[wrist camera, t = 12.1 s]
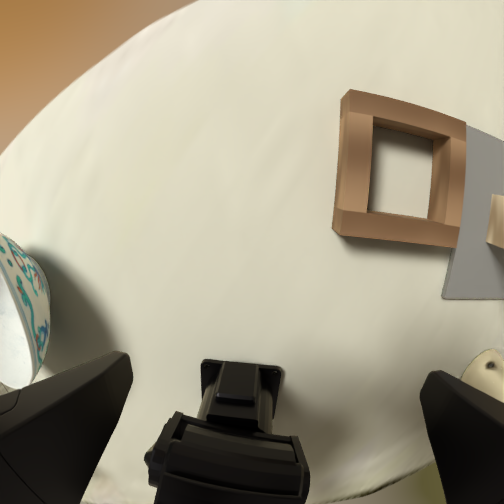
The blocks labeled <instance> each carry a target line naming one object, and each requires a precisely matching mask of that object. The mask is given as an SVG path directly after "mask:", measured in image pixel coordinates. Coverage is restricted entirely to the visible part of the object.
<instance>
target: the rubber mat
mask: <svg viewBox="0 0 504 504" xmlns="http://www.w3.org/2000/svg"><path fill="white" fill-rule="evenodd" d="M492 194H495V195H501V196H504V141H502V140H500V139H498V138H496V137H494V136H491V135H489V134H487V133H485V132H482V131H480V130H478V129H475V128H473V127H470V126H468V125H466V173H465V188H464V199H463V208H462V216H461V224H460V230H459V236H458V242H457V248H452V250H451V255H450V260H449V265H448V270H447V274H446V278H445V283H444V287H443V290H442V294H441V296H442V297H443V298H445V299H504V249H503V248H501V247H498V246H496V245H493V244H490V243H488V242H486V237H487V230H488V224H489V217H490V209H491V199H492Z"/></svg>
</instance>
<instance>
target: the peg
mask: <svg viewBox="0 0 504 504" xmlns="http://www.w3.org/2000/svg"><path fill="white" fill-rule="evenodd" d="M486 242H488V243H490V244H493V245H496V246H498V247H501V248H503V249H504V196H501V195H495V194H492V199H491V209H490V217H489V224H488V230H487V237H486Z"/></svg>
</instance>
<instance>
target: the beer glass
mask: <svg viewBox="0 0 504 504" xmlns="http://www.w3.org/2000/svg"><path fill="white" fill-rule="evenodd" d="M461 381H463V382H465V383H467V384H469V385H471V386H472V387H474V388H476V389H478V390H480V391H482V392H484V393H486V394H488V395H490V396H492V397H494V398H495V399H497V400H499V401H501V402H503V403H504V360H503V358H502V356H501V355H500V353H499V352H498V351H497V350H495V349H489V350H486V351H484V352H483V353H481V354H480V355H478V356H477V357H476V358H475V359H474V360H473V361H472V362H471V363H470V364H469V366H468V367H467V368H466V370H465V372H464V373H463V375H462V378H461Z"/></svg>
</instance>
